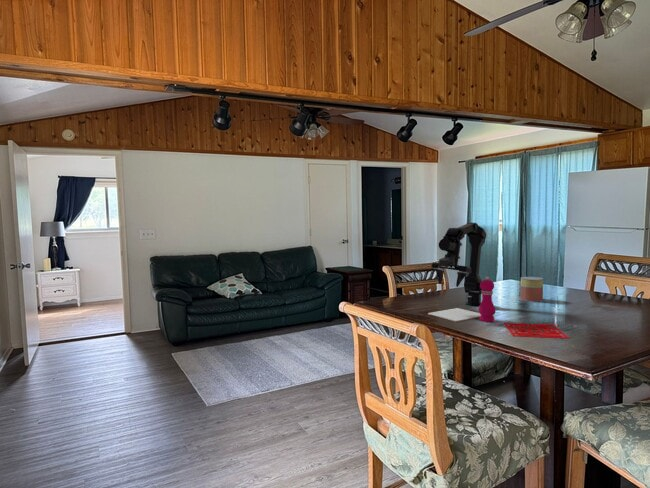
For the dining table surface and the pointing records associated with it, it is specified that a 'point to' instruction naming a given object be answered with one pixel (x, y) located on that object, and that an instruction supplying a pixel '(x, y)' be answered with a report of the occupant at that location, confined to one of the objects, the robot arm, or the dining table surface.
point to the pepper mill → (487, 301)
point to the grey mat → (456, 314)
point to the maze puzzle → (538, 326)
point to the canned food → (532, 289)
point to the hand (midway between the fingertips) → (448, 285)
